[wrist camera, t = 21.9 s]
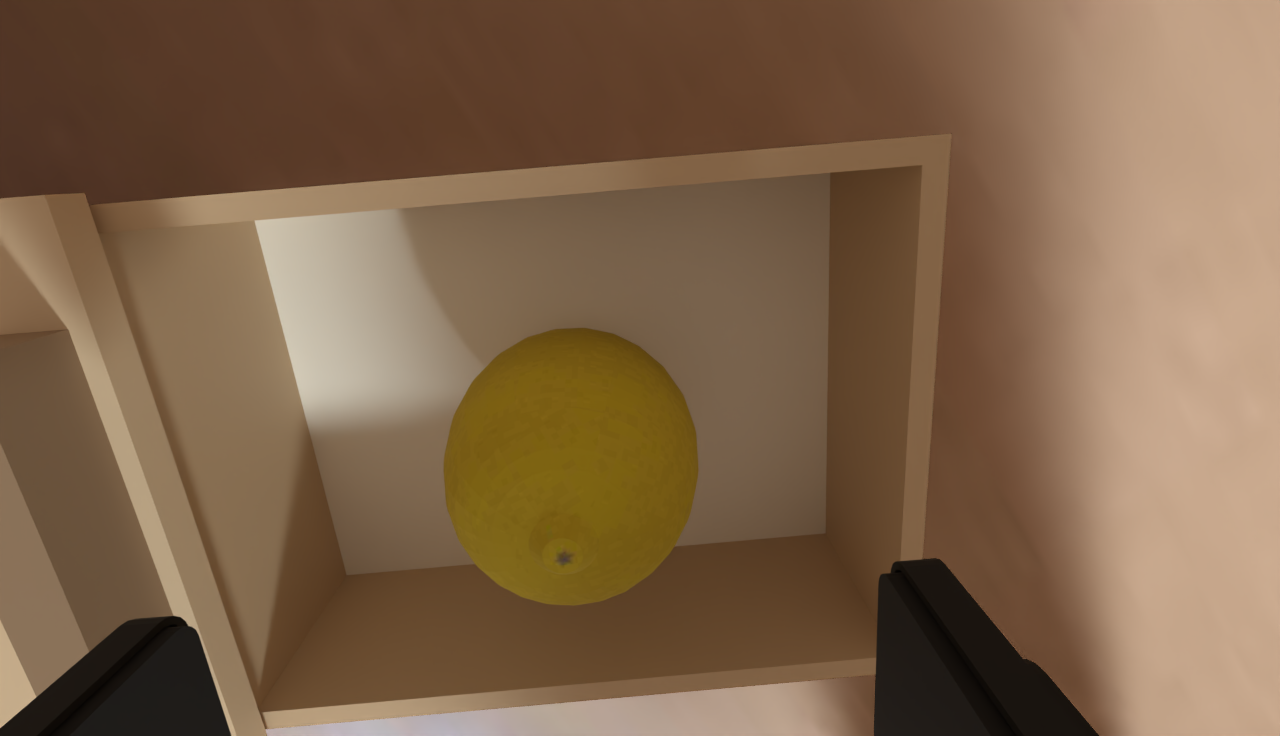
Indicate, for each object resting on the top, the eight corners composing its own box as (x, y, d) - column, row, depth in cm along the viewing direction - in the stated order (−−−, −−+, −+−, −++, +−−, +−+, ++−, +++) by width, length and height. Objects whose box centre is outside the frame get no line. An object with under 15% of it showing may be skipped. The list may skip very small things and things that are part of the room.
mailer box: (839, 144, 17) (951, 133, 11) (833, 531, 21) (914, 671, 15) (245, 193, 17) (54, 207, 11) (344, 574, 21) (239, 731, 15)
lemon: (545, 508, 19) (503, 735, 12) (446, 353, 18) (322, 497, 10) (710, 430, 19) (780, 613, 11) (624, 262, 17) (635, 340, 9)
